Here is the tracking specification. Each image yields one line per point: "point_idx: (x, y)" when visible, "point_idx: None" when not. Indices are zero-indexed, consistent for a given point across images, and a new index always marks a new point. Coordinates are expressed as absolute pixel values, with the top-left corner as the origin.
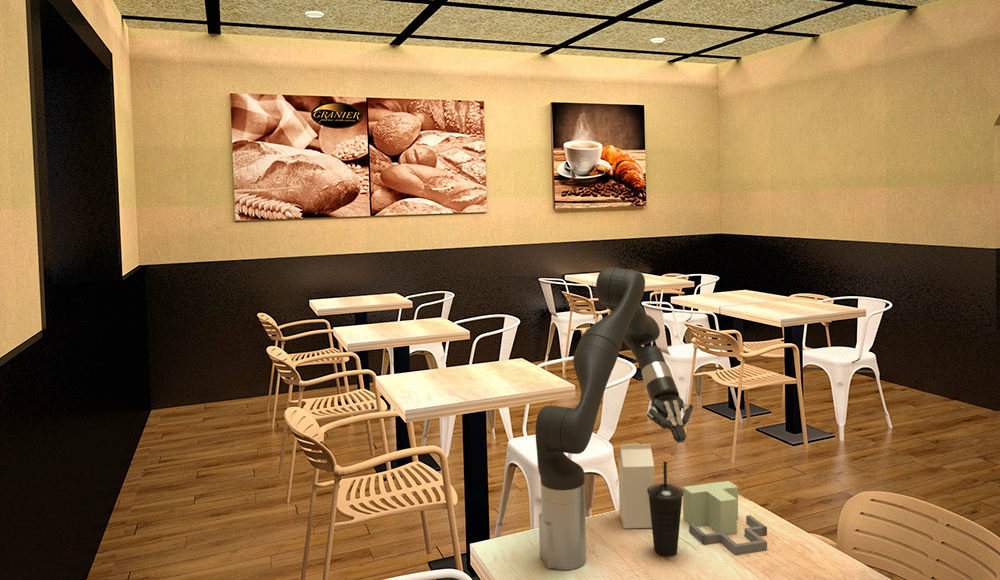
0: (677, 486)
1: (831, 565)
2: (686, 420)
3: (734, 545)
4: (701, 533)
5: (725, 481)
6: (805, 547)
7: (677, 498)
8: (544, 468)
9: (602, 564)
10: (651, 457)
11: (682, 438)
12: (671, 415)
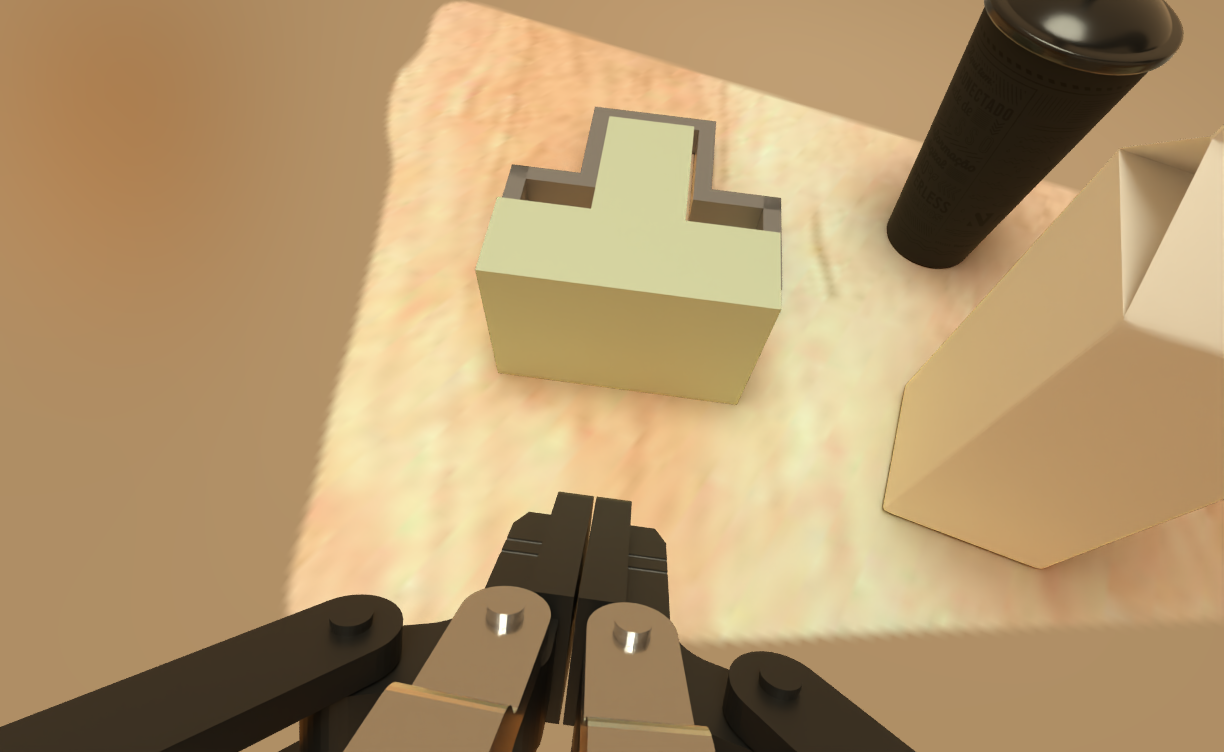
0: (1005, 12)
1: (498, 31)
2: (353, 603)
3: (713, 126)
4: (774, 218)
5: (499, 269)
6: (473, 101)
7: None
8: None
9: None
10: (1169, 145)
11: (596, 498)
12: (654, 730)
